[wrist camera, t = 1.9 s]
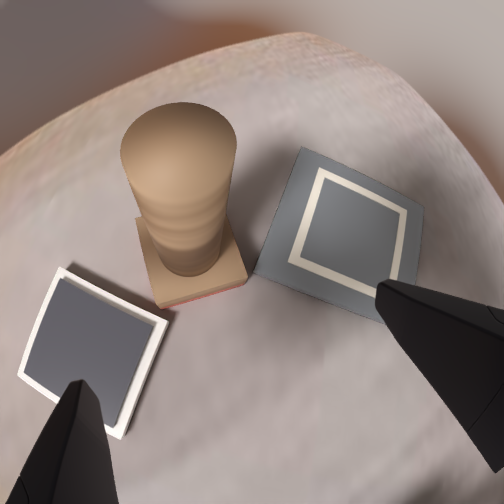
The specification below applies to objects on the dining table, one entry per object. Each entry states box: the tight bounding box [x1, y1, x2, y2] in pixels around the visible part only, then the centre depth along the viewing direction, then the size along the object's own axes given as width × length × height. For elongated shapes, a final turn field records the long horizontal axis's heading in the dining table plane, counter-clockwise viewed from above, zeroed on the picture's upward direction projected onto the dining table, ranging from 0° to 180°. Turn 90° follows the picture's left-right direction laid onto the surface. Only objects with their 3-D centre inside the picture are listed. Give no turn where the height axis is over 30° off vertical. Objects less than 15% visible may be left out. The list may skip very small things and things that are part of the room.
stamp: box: [120, 102, 248, 310], centre depth 16 cm, size 6×6×13 cm
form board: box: [253, 147, 424, 325], centre depth 24 cm, size 13×12×1 cm
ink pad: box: [17, 267, 169, 440], centre depth 18 cm, size 9×9×1 cm
